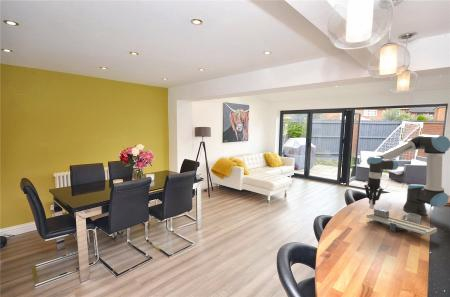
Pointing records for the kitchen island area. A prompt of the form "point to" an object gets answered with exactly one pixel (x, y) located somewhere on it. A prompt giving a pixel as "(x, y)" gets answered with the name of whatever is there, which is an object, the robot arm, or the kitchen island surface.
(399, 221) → the beam
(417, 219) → the cup
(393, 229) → the fulcrum
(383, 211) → the block
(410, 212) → the robot arm
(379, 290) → the kitchen island surface
